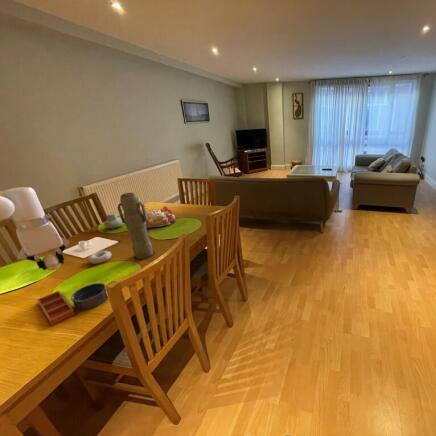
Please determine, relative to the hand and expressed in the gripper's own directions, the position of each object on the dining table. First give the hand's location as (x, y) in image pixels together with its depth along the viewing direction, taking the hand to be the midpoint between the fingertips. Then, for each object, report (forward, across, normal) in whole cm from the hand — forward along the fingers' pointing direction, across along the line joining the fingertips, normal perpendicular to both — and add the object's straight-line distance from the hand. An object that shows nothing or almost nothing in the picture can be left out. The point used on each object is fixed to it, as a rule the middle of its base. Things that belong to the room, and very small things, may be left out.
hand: (52, 265), depth 92 cm
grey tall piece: (+18, -36, -12) cm, 42 cm away
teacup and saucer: (+18, -23, -48) cm, 56 cm away
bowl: (+18, -6, +7) cm, 20 cm away
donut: (+18, -20, -26) cm, 38 cm away
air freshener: (+18, -43, -68) cm, 82 cm away
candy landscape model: (+18, -65, -51) cm, 85 cm away
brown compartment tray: (+18, +4, +1) cm, 18 cm away
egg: (+2, 0, 0) cm, 2 cm away
